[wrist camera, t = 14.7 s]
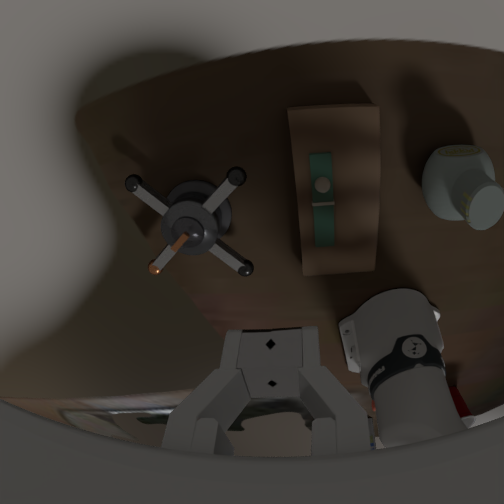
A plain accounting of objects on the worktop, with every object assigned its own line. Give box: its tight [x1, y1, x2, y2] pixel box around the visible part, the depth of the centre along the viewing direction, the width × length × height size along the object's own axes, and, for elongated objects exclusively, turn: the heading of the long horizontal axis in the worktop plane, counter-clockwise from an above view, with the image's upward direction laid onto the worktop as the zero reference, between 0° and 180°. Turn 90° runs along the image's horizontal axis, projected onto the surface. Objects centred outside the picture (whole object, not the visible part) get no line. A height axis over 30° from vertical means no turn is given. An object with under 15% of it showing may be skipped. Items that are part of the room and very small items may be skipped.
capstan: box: [125, 167, 254, 276], centre depth 38 cm, size 20×20×5 cm
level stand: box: [287, 103, 381, 276], centre depth 36 cm, size 22×10×4 cm, turn 9°
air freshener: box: [422, 145, 504, 230], centre depth 30 cm, size 11×8×10 cm
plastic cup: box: [449, 386, 476, 428], centre depth 59 cm, size 11×11×12 cm
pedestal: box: [167, 180, 232, 239], centre depth 41 cm, size 9×9×1 cm
